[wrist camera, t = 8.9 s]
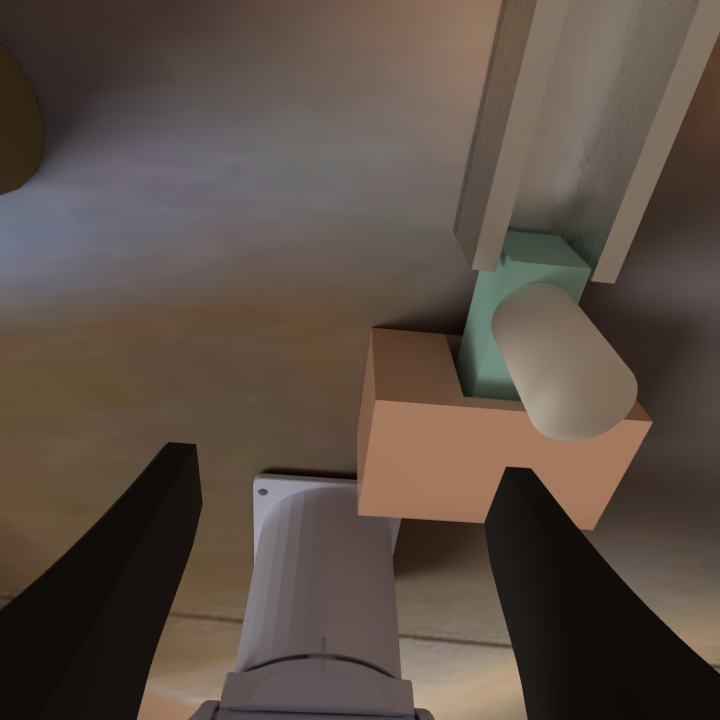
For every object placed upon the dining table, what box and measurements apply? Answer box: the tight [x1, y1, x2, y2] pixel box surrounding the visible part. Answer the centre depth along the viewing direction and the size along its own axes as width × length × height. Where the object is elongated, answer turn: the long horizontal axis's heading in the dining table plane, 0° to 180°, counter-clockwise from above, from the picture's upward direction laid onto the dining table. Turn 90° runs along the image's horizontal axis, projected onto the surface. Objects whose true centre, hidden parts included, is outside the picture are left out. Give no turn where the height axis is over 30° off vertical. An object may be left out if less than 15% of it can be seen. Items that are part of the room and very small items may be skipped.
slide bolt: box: [455, 231, 638, 441], centre depth 18 cm, size 8×3×8 cm, turn 174°
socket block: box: [357, 328, 653, 530], centre depth 21 cm, size 6×10×5 cm, turn 84°
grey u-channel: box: [453, 0, 720, 284], centre depth 16 cm, size 8×5×4 cm, turn 174°
